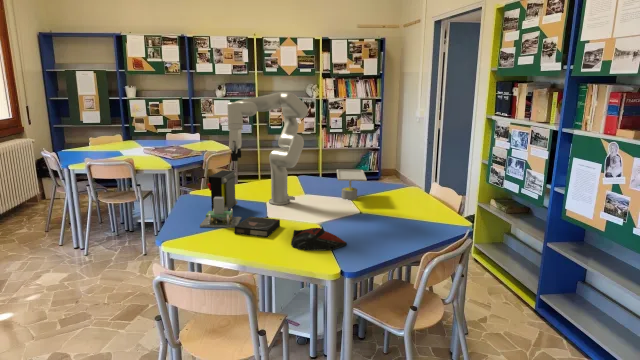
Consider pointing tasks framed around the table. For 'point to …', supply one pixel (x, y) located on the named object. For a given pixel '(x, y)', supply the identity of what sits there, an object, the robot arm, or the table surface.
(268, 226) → the portable cd player
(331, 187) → the table surface
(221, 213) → the board
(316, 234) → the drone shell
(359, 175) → the solar panel model
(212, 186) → the electrical component
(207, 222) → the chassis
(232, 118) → the robot arm
